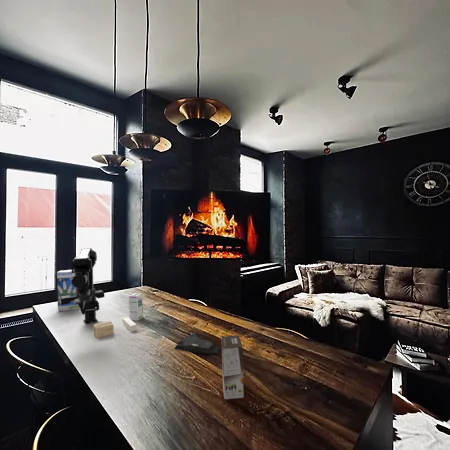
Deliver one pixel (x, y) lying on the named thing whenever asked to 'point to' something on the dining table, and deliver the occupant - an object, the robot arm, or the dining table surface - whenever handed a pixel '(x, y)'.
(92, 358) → the dining table surface
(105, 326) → the oak block
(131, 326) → the plank
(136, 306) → the syrup box
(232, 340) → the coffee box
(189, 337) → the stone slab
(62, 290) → the string lights box
